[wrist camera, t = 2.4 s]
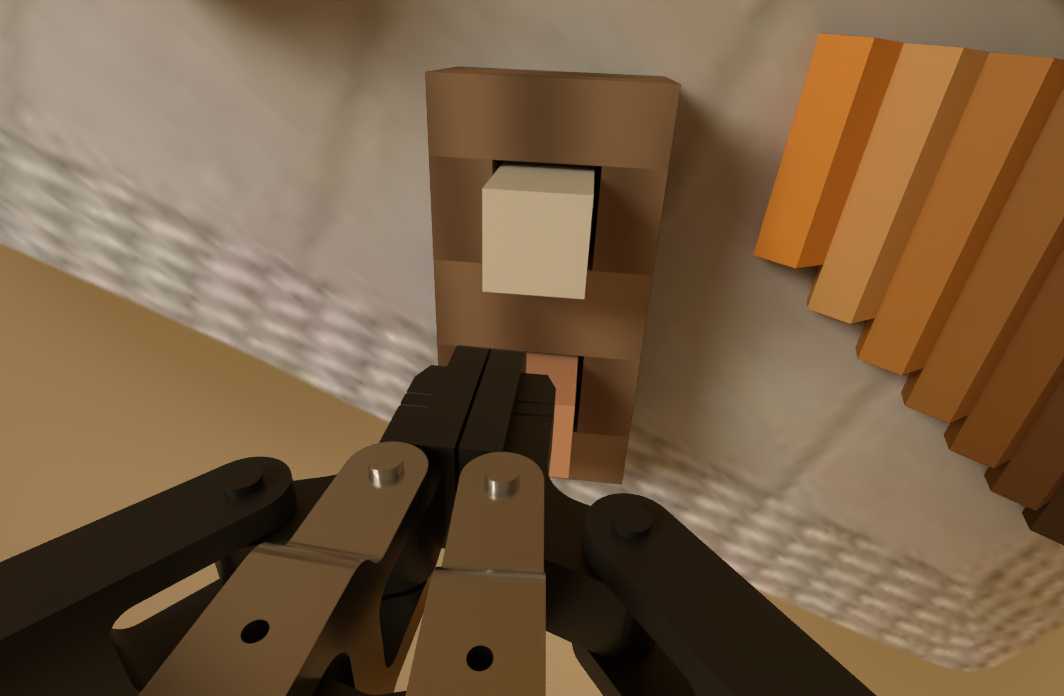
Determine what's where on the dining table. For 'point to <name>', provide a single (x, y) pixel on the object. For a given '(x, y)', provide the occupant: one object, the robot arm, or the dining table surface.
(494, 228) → the beige rectangular block
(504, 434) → the robot arm
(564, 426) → the orange-brown rectangular block
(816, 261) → the pan flute
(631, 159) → the board
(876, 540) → the dining table surface
